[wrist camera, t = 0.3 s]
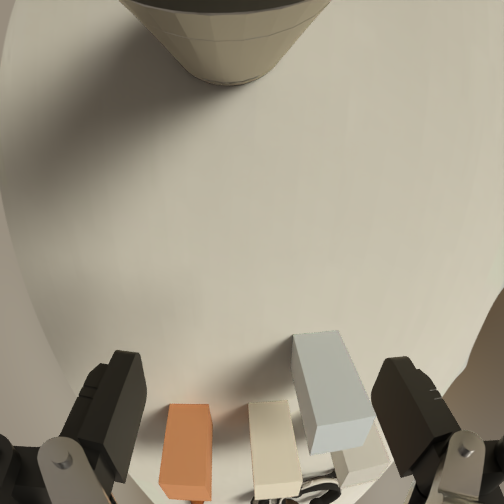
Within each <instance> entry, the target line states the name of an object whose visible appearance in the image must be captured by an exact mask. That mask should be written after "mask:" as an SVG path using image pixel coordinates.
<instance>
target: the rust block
mask: <svg viewBox="0 0 504 504" xmlns="http://www.w3.org/2000/svg"><path fill="white" fill-rule="evenodd" d="M212 431H213V425H212V420H211V415H210V410H209V405H208V404H170V406H169V412H168V419H167V425H166V432H165V438H164V445H163V453H162V460H161V467H160V475H159V483H158V484H159V485H160V487H161V488H162V490H163V491H164V492H165V494H166V495H167V497H168V498H169V499H177V500H194V501H211V482H212Z"/></svg>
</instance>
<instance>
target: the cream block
mask: <svg viewBox="0 0 504 504" xmlns="http://www.w3.org/2000/svg"><path fill="white" fill-rule="evenodd" d="M248 411H249V429H250V443H251V456H252V469H253V482H254V494H255V500H263V499H275V498H285V497H294V496H298V495H299V492H300V489H301V485H302V482H303V478H302V473H301V468H300V462H299V457H298V452H297V446H296V441H295V436H294V431H293V425H292V420H291V415H290V410H289V404H288V400H284V401H272V402H257V403H248Z"/></svg>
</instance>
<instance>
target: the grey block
mask: <svg viewBox="0 0 504 504" xmlns="http://www.w3.org/2000/svg"><path fill="white" fill-rule="evenodd" d="M330 453H331V457H332V461H333V465H334V468H335V472H336V476H337V480H338V484H339V488H340V489H342V488H346V487H351V486H355V485H360V484H364V483H368V482H371V481H375V480H378V479H379V478H380V476H381V475H382V474H383V472H384V471H385V469H386V468H387V467H388V465H389V464H390V459H389V456H388V454H387V451H386V449H385V446H384V444H383V441H382V439H381V436H380V434H379V431H378V429H377V426H376V424H375V421H374V422H373V424H372V426H371V429H370V431H369V433H368V435H367V437H366V440H365V442H364V444H363V446H360V447H355V448H350V449H345V450H340V451H335V452H330Z"/></svg>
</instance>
